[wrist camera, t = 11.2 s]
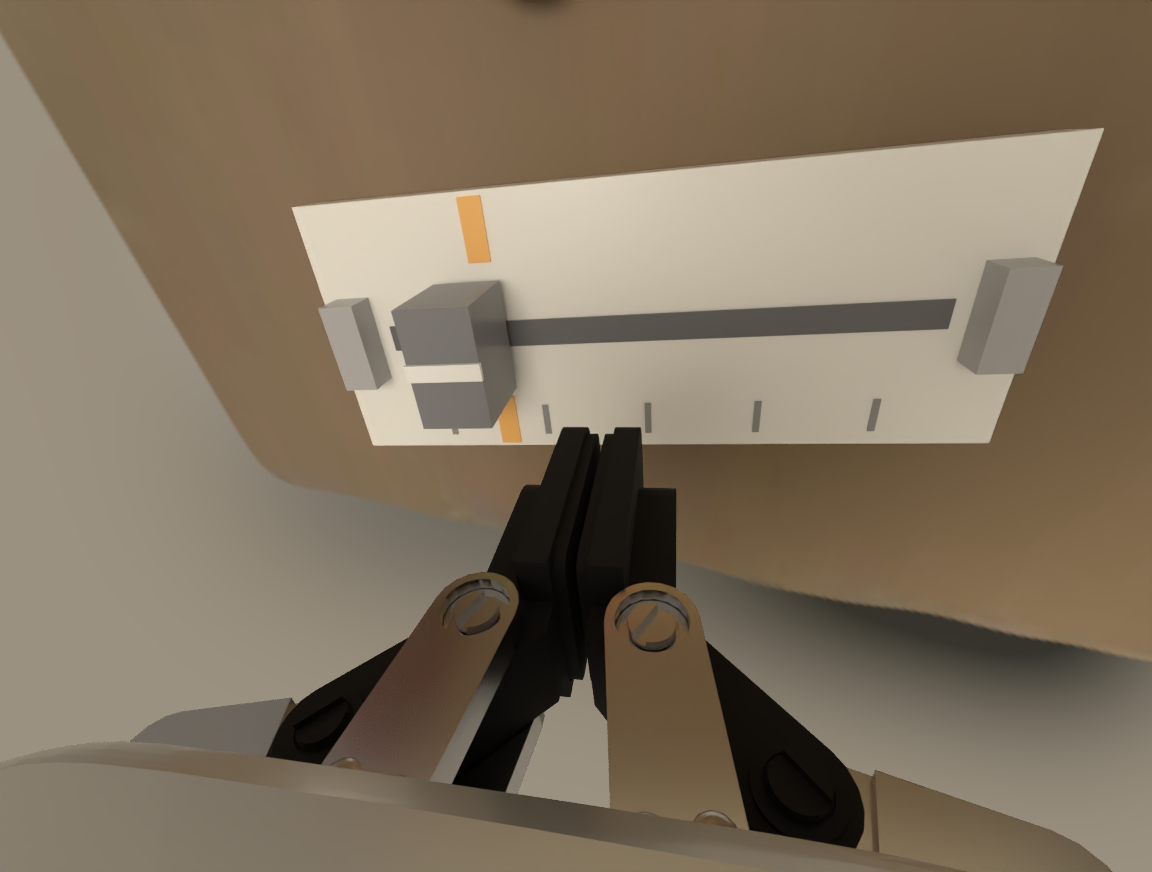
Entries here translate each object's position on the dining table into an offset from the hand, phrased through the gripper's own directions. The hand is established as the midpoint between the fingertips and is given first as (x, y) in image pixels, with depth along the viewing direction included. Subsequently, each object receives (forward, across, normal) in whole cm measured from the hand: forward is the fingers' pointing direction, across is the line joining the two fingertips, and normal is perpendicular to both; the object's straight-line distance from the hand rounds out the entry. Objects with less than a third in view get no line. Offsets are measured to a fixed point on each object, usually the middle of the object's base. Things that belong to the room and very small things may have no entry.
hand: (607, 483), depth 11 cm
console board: (+15, 0, +1) cm, 15 cm away
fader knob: (+12, +7, +1) cm, 14 cm away
